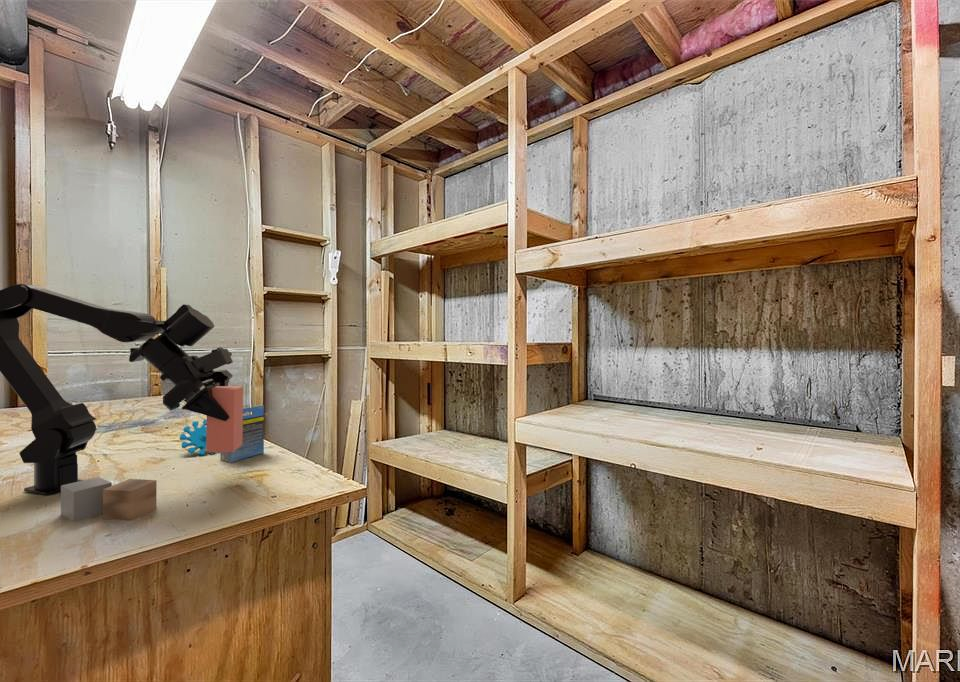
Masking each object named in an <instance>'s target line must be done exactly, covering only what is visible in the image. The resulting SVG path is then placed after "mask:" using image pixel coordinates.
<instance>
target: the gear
mask: <svg viewBox="0 0 960 682" xmlns="http://www.w3.org/2000/svg"><path fill="white" fill-rule="evenodd" d="M191 425H192V427H193V428H194V430H190V429H191V427H190V426H189V425H187V426H184V427H183V432H184V433H181V434H180V436H179V440H181V441H182V442H181V448H182V449H186V448H188V447H189V448H188V449H187V452H188V454H190V455H193V454H194V453H195V451H197V450H198V449H199V451H198V454H197V455H198V456H201V457H202V456H205V453H206V431H207V419H203V421H202V425H201V426H200V427H198V426H199V421H198V420H197V421H196V420H195V421H192V423H191ZM185 433H187V434H188V435H189V436H187V435H186V434H185ZM187 441H189V442H187ZM208 453H209V454H216V452H208Z"/></svg>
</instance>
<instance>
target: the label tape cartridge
mask: <svg viewBox="0 0 960 682" xmlns="http://www.w3.org/2000/svg"><path fill="white" fill-rule="evenodd" d="M264 410H265V405H258V406H251V407H245V408H243V414H246V413H247V412H248V413H251V414H247V415H243V439H242V445H241V446H240V447H239V448H238V449H236V450H235V451H234V452H219V453H220V454H219V455H220V461H221V460H222V461H221V462H225V461H226V463H229V462H231V463H235V462H237V460H238V461H241V460H244V459H247V458H250V457H254V456H258V455H262V454H264V453H265V451H264V450H265V449H264V448H265V447H264V446H265V444H264V443H265V434H264V433H265V427H264V425H265V424H264V423H265V416H264V414H265V412H264Z"/></svg>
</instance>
